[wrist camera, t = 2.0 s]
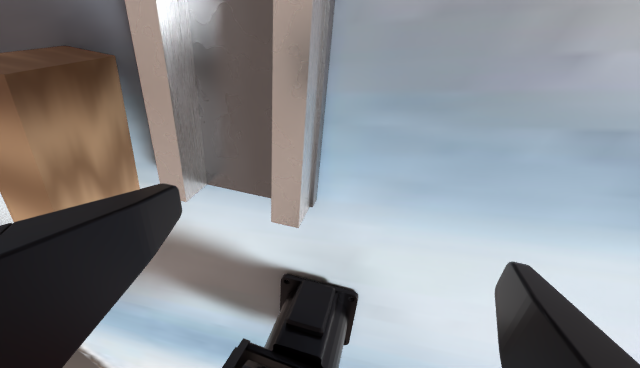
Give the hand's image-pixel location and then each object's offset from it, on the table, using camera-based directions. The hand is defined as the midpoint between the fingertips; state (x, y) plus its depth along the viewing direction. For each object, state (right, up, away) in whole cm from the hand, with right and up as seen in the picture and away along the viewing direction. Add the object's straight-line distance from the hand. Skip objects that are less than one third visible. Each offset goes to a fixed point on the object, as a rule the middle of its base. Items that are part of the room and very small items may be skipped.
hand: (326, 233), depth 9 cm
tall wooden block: (-17, +4, +17) cm, 24 cm away
